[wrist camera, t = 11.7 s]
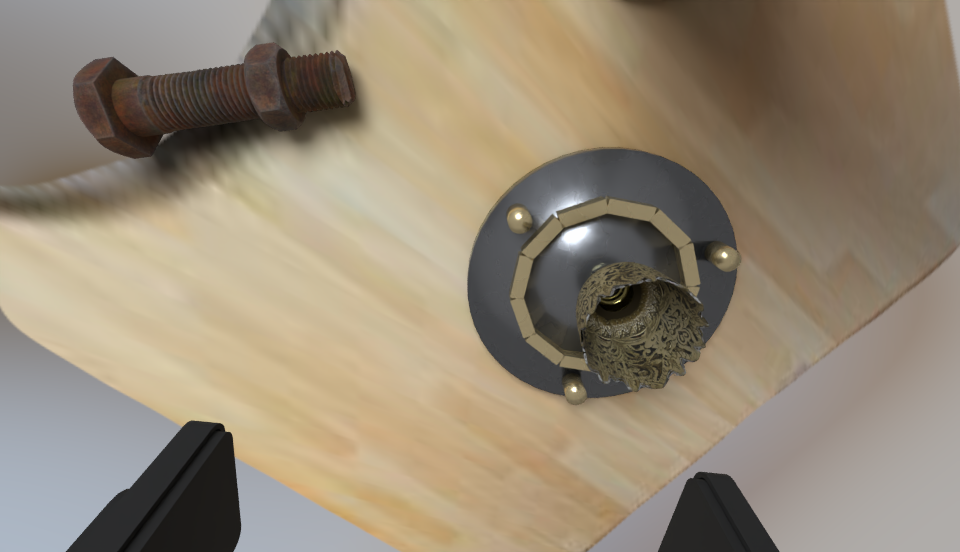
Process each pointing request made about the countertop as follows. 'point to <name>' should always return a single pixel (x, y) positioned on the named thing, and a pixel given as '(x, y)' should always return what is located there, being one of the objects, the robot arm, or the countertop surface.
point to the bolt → (207, 96)
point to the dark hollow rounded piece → (638, 325)
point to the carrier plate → (590, 256)
